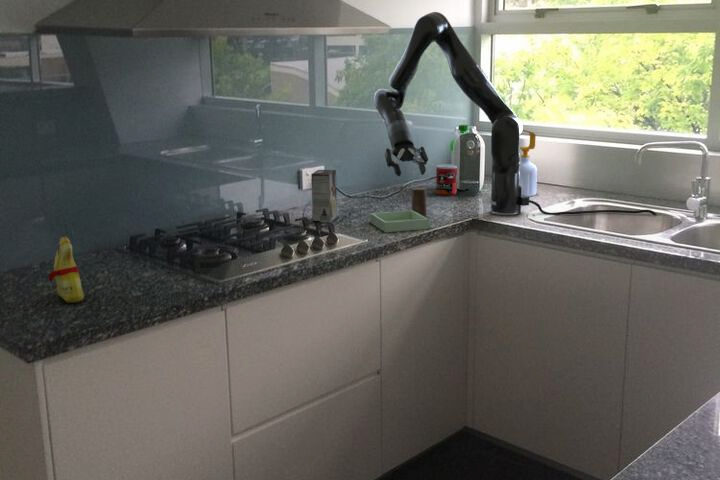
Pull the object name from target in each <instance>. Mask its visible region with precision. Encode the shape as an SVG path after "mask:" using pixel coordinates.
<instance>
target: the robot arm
mask: <svg viewBox="0 0 720 480" xmlns="http://www.w3.org/2000/svg"><path fill="white" fill-rule="evenodd" d="M432 43H435V44H436V45H437V46H438V47H439V48H440V50H441V51H442V53H443V54H444V55H445V57H446V61H447V64H448V67H449V70H450V74H451V76H452V78H453V80H454V81H455V83H456V84H457V85H458V87H459V88H460V90H461V91H462V92H463V94H464V95H465V96H466V97H467V98H468V99H469V100H470V101H472V102H473V103H474V104H475V105H476V106H477V107H478V108H480V109H481V110H482V111H483V113H484V114H485V115H486V117H487V118H488V120H489V122H490V124H491V125H492V126H491V132H490V135H491V137H490V153H491V193H490V200H489V203H490V214H492V215H495V216H505V217H506V216H515V215H521V213H522V206H523V207H524V206H525V207H526V206H530V204H533V205H534V206H536V207H537V208H538V210H539V212H540V213H542V214H544V215H550V216H559V215H580V214H582V215H583V214H599V213H602V214H603V213H604V214H605V213H619V214H641V213H642V214H643V213H650V214H652V215H653V216H658V215H657V213H656V212H655V211H653V210H651V209H639V210H627V209H626V210H625V209H597V210H596V209H594V210H579V211H577V210H576V211H558V212H556V211H555V212H549V211H545V210H543V208H542V206H541V205H540V204H539V202H537V201H534V200H531V199H530V196H528V197H527V196H525V195H521V191H522V186H521V185H519V178H520V161H521V153H520V149H519V147H520V136H521V135H522V133H523V131H522V130H523V128H524V127H523V122H522V120H521V119H520V118H519V116H517V114H516V113H515V112H514V111H513V110H512V109H511V108H510V106H509V105H508V104H507V103H506V102H505V101H504V100H503V99H502V97H501V96H500V94H499V93H498V91H497V90H496V87H495V86H494V85H493V84H492V82H491V80H490V79H489V78H488V76H487V75H486V73H485V72H484V70H483V69H482V67H481V66H480V65H479V64H478V62H477V61H476V60H475V59H474V57H473V56H472V54H471V53H470V51H468V49H467V48H466V47H465V45H464V44H463V43H462V41H461V40H460V38H459V36H458V35H457V33H456V32H455V29H454V28H453V26H452V25H451V23H450V21H449V20H448V18H447V17H446V16H445V15H444V14H443V13H442V12H439V11H432V12H429V13H426V14H423V15H422V16H420V17H419V18H418V19H417V20H416V21H415V25H414V26H413V29H412V32H411V35H410V37H409V40H408V43H407V45H406V47H405V50H404V52H403V54H402V56H401V58H400V59H399V61H398V63H397V65H396V67H395V68H394V70H393V72H392V73H391V75H390V77H389V78H388V84H389V86H390V87H391V88H392V89H393V90H392V89H387V88H379V89H378V90H377V91H375V93H374V96H373V103H374V106H375V109H376V111H377V112H378V113H379V115H380V116H381V118H382V119H383V121H384V123H385V127H386V131H387V136H388V140H389V143H390V146H391V149H390V148H386V149H385V151H384V157H385V162H386V167H388V168H390V167H392V168H393V170H394V174H395V175H396V176H397V177H401V175H402V170H401V168H400V164H399V163H400V162H403V163H404V162H412V163H413V164H416V165H417V166H418V169H419V172H420V175H421V176H423V175H425V173H426V171H427V169H426V165H427V164H428V161H429V156H428V154H427V152H426V149H425V147H424V146H420V147H419V148H416V147H415V145H414V144H415V143H414V140H413V137H412V134H411V131H410V127H409V125H408V124H407V120H406V118H405V115H404V112H403V110H401V108H402V107H403V105H404V102H405V99H406V94H407V90H408V88H409V86H410V84H411V82H412V81H413V79H414V77H415V76H416V73H417V71H418V68H419V65H420V61H421V59H422V56H423V54H424V53H425V52H426V50H427V49H428V48H429V47H430V45H431V44H432ZM392 155H393V156H394V157H395V160H393V158H392Z"/></svg>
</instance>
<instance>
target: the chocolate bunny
mask: <svg viewBox="0 0 720 480" xmlns="http://www.w3.org/2000/svg"><path fill="white" fill-rule="evenodd" d="M74 259H75V258H74V256H73V245H72V243H71V241H70V239H69V238H68V237H67V236H63V237H62V236H61V238H60V239H59V243H58V249H57V251H56V253H55V256H54V260H53V270H51V271H50V274H49V275H48V280H49V282H52V281H53V280H55V283H56V284H55V285H56V289H57V292H56V293H57V294H58V296H59V297H60V298H62V299H63V300H64V301H65V302H66V303H67V304H76V303H80V302H81V301H83V300H84V298H85V295H84V291H83V288H82V281H81V277H80V273H79V272H80V270H79V266H77V264H76V262H75V260H74Z"/></svg>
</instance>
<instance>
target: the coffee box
mask: <svg viewBox="0 0 720 480" xmlns="http://www.w3.org/2000/svg"><path fill="white" fill-rule="evenodd" d="M310 174H311V208H312V221H313V220H316V219H318V220H320V221H321V222H320V223H332V222H333V221H334V220H335V219H336V218H337V217H338V201H337V200H338V199H337V198H338V197H337V195H338V194H337V169H318V170H315V171H314V172H312V173H310Z"/></svg>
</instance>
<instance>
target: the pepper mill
mask: <svg viewBox="0 0 720 480" xmlns="http://www.w3.org/2000/svg"><path fill="white" fill-rule="evenodd" d="M411 210H413V211H415V212H417V213H418V214H420V215H422V216H424V217H426V218H427V187H421V186H420V187H419V186H417V187H412V188H411Z"/></svg>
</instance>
